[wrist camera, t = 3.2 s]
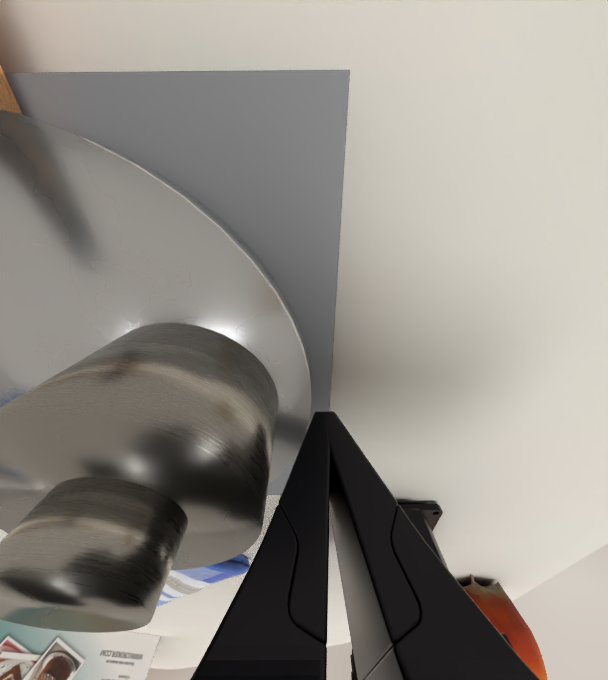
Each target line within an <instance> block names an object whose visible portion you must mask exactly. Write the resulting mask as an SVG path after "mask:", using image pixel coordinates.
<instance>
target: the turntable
mask: <svg viewBox="0 0 608 680" xmlns="http://www.w3.org/2000/svg"><path fill="white" fill-rule="evenodd" d="M156 323H184V324H190V325H196V326H200V327H204V328H207V329H211V330H213V331H216V332H218V333H221V334H223V335H225V336H227V337H229V338H231V339H233V340H234V341H236V342H238V343H239V344H241V345H242V346H243V347H245V348H246V349H248V350H249V351H250V352H251V353H252V354H253V355H255V356H256V357H257V358H258V360H259V361H260V362H261V363H262V364H263V365H264V366H265V368H266V369H267V371H268V372H269V374H270V375H271V377H272V379H273V381H274V383H275V386H276V389H277V393H278V399H279V409H278V416H277V424H276V431H275V438H274V446H273V453H272V460H271V468H270V475H269V482H268V484H269V483H271V482H272V481H273V480H275V479H276V478H277V477H278V476H279V475H280V474H281V473H282V472H283V471H284V470H285V469H286V468H287V467H288V465H289V464H290V463H291V461H292V460H293V458H294V457H295V456H296V454H297V453H298V451H299V448H300V446H301V444H302V442H303V440H304V437H305V435H306V431H307V427H308V424H309V420H310V410H311V383H310V370H309V359H308V355H307V351H306V347H305V342H304V338H303V335H302V333H301V330H300V327H299V325H298V322H297V320H296V317H295V315H294V312H293V310H292V308H291V307H290V305H289V303H288V301H287V300H286V298H285V296H284V294H283V292H282V291H281V289H280V287H279V285H278V284H277V282H276V281H275V280H274V278H273V277H272V275H271V274H270V273H269V271H268V270H267V269H266V267H265V266H264V265H263V263H262V262H261V261H260V259H259V258H258V256H257V255H256V254H255V253H254V252H253V251H252V250H251V249H250V248H249V247H248V246H247V245H246V244H245V242H244V241H243V240H242V239H241V238H240V237H239V236H238V235H237V234H236V233H235V232H234V231H233V230H232V229H231V228H230V227H229V226H228V225H227V224H226V223H225V222H223V221H222V220H221V219H220V218H219V217H218V216H216V215H215V214H214V213H213V212H212V211H211V210H209V209H208V208H207V207H206V206H205V205H203V204H202V203H201V202H200V201H199V200H198V199H196V198H195V197H193V196H192V195H190V194H189V193H187V192H186V191H184V190H183V189H181V188H180V187H178V186H177V185H175V184H174V183H172V182H171V181H169V180H168V179H166V178H165V177H163V176H162V175H161V174H159V173H157V172H155V171H153V170H151V169H149V168H147V167H145V166H143V165H142V164H140V163H138V162H136V161H134V160H132V159H130V158H128V157H126V156H124V155H122V154H120V153H118V152H116V151H114V150H112V149H109V148H107V147H104V146H102V145H100V144H97V143H95V142H92V141H90V140H88V139H85V138H83V137H80V136H78V135H75V134H73V133H70V132H67V131H65V130H62V129H59V128H57V127H54V126H51V125H49V124H46V123H43V122H41V121H38V120H35V119H33V118H30V117H27V116H25V115H23V114H22V112H21V110H20V108H19V105H18V103H17V101H16V99H15V97H14V94H13V92H12V90H11V88H10V85H9V83H8V81H7V79H6V76H5V74H4V72H3V70H2V68H1V65H0V408H1V407H2V406H4V405H6V404H7V403H9V402H11V401H13V400H14V399H16V398H18V397H19V396H21V395H23V394H24V393H26V392H28V391H29V390H31V389H33V388H34V387H36V386H38V385H40V384H41V383H43V382H45V381H46V380H48V379H50V378H51V377H53V376H55V375H56V374H58V373H60V372H61V371H63V370H65V369H67V368H68V367H70V366H72V365H73V364H75V363H77V362H78V361H80V360H82V359H83V358H85V357H87V356H88V355H90V354H92V353H94V352H95V351H97V350H99V349H100V348H102V347H104V346H105V345H107V344H109V343H110V342H112V341H114V340H116V339H117V338H119V337H121V336H122V335H124V334H126V333H128V332H129V331H131V330H133V329H136V328H139V327H142V326H146V325H151V324H156Z"/></svg>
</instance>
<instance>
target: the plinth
mask: <svg viewBox="0 0 608 680" xmlns="http://www.w3.org/2000/svg"><path fill="white" fill-rule="evenodd" d="M4 74H5V76H6V79H7V81H8V83H9V85H10V88H11V90H12V92H13V94H14V97H15V99H16V101H17V103H18V105H19V108H20V110H21V112H22V114H23V115H25V116H27V117H30V118H33V119H35V120H38V121H41V122H43V123H46V124H49V125H51V126H54V127H57V128H59V129H62V130H65V131H67V132H70V133H73V134H75V135H78V136H80V137H83V138H85V139H88V140H90V141H92V142H95V143H97V144H100V145H102V146H104V147H107V148H109V149H112V150H114V151H116V152H118V153H120V154H122V155H124V156H126V157H128V158H130V159H132V160H134V161H136V162H138V163H140V164H142V165H143V166H145V167H147V168H149V169H151V170H153V171H155V172H157V173H159V174H161V175H162V176H163V177H165V178H166V179H168V180H169V181H171V182H172V183H174V184H175V185H177V186H178V187H180V188H181V189H183V190H184V191H186V192H187V193H189V194H190V195H192V196H193V197H195V198H196V199H198V200H199V201H200V202H201V203H202V204H203V205H205V206H206V207H207V208H208V209H209V210H211V211H212V212H213V213H214V214H215V215H216V216H218V217H219V218H220V219H221V220H222V221H223V222H225V223H226V224H227V225H228V226H229V227H230V228H231V229H232V230H233V231H234V232H235V233H236V234H237V235H238V236H239V237H240V238H241V239H242V240H243V241H244V242H245V244H246V245H247V246H248V247H249V248H250V249H251V250H252V251H253V252H254V253H255V254H256V255H257V256H258V258H259V259H260V261H261V262H262V263H263V265H264V266H265V267H266V269H267V270H268V271H269V273H270V274H271V275H272V277H273V278H274V280H275V281H276V282H277V284H278V285H279V287H280V289H281V291H282V292H283V294H284V296H285V298H286V300H287V301H288V303H289V305H290V307H291V308H292V310H293V312H294V315H295V317H296V320H297V322H298V325H299V327H300V330H301V333H302V335H303V338H304V342H305V347H306V351H307V355H308V359H309V370H310V383H311V410H310V420H309V424H310V422H311V419H312V417H313V414H314V412H316V411H324V412H325V411H329V405H330V389H331V372H332V356H333V339H334V323H335V306H336V290H337V273H338V257H339V241H340V224H341V208H342V191H343V175H344V158H345V142H346V125H347V109H348V92H349V76H350V70H279V71H166V72H54V73H4ZM309 424H308V427H309ZM308 427H307V430H308ZM306 432H307V431H306ZM301 445H302V444H301ZM300 447H301V446H300ZM299 450H300V448H299ZM298 452H299V451H298ZM297 455H298V453H297V454H296V456H295V457H294V458H293V460H292V461H291V463H290V464H289V465H288V467H287V468H286V469H285V470H284V471H283V472H282V473H281V474H280V475H279V476H278V477H277V478H276V479H275V480H273V481H272V482H271V483H269V484H268V490H267V495H282V493H283V490H284V488H285V485H286V483H287V480H288V478H289V475H290V473H291V470H292V467H293V465H294V462H295V460H296V457H297Z"/></svg>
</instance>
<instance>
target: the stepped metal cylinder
mask: <svg viewBox="0 0 608 680" xmlns="http://www.w3.org/2000/svg"><path fill="white" fill-rule="evenodd" d="M278 409H279V399H278V393H277V389H276V386H275V383H274V381H273V379H272V377H271V375H270V374H269V372H268V371H267V369H266V368H265V366H264V365H263V364H262V363H261V362H260V361H259V360H258V358H257V357H256V356H255V355H253V354H252V353H251V352H250V351H249V350H248V349H246V348H245V347H243V346H242V345H241V344H239V343H238V342H236V341H234V340H233V339H231V338H229V337H227V336H225V335H223V334H221V333H218V332H216V331H213V330H211V329H207V328H204V327H200V326H196V325H190V324H184V323H156V324H151V325H146V326H142V327H139V328H136V329H133V330H131V331H129V332H128V333H126V334H124V335H122V336H121V337H119V338H117V339H116V340H114V341H112V342H110V343H109V344H107V345H105V346H104V347H102V348H100V349H99V350H97V351H95V352H94V353H92V354H90V355H88V356H87V357H85V358H83V359H82V360H80V361H78V362H77V363H75V364H73V365H72V366H70V367H68V368H67V369H65V370H63V371H61V372H60V373H58V374H56V375H55V376H53V377H51V378H50V379H48V380H46V381H45V382H43V383H41V384H40V385H38V386H36V387H34V388H33V389H31V390H29V391H28V392H26V393H24V394H23V395H21V396H19V397H18V398H16V399H14V400H13V401H11V402H9V403H7V404H6V405H4V406H2V407H1V408H0V529H2V530H4V531H5V532H7V533H9V534H8V535H7V536H6V537H5V538H4V539H3V540H2V541H1V542H0V620H4V621H8V622H12V623H16V624H21V625H26V626H32V627H37V628H44V629H51V630H60V631H71V632H89V633H103V632H120V631H127V630H133V629H137V628H140V627H143V626H145V625H147V624H148V623H149V622H150V621H151V619H152V617H153V614H154V612H155V609H156V606H157V604H158V601H159V599H160V596H161V594H162V591H163V588H164V586H165V583H166V581H167V578H168V575H169V573H170V570H183V569H193V568H200V567H205V566H210V565H214V564H218V563H221V562H224V561H227V560H229V559H232V558H234V557H236V556H238V555H240V554H241V553H243V552H245V551H246V550H247V549H248V548H250V547H251V546H252V545H253V544H254V542H255V541H256V540H257V539H258V537H259V535H260V533H261V530H262V525H263V519H264V512H265V505H266V497H267V490H268V482H269V475H270V468H271V460H272V453H273V446H274V438H275V431H276V424H277V416H278Z"/></svg>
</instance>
